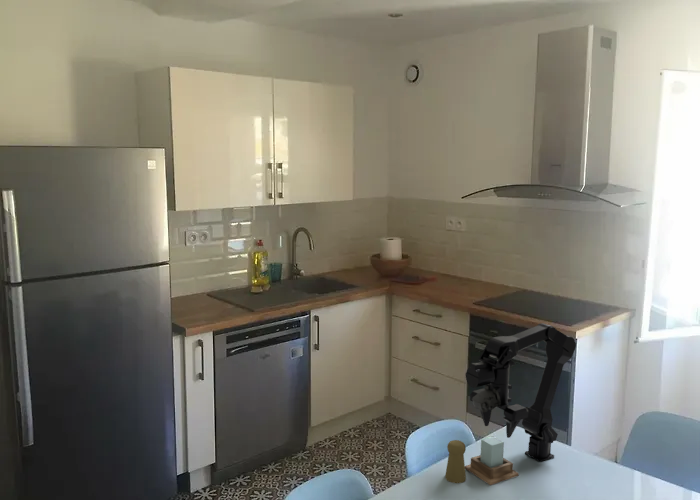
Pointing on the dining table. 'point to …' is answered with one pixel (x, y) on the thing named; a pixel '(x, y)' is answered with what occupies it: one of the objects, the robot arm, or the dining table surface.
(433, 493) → the dining table surface
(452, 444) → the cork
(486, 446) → the painted peg
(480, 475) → the walnut socket
